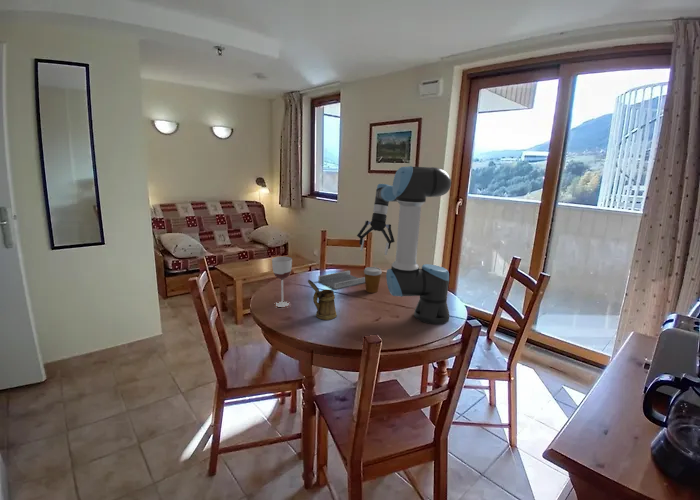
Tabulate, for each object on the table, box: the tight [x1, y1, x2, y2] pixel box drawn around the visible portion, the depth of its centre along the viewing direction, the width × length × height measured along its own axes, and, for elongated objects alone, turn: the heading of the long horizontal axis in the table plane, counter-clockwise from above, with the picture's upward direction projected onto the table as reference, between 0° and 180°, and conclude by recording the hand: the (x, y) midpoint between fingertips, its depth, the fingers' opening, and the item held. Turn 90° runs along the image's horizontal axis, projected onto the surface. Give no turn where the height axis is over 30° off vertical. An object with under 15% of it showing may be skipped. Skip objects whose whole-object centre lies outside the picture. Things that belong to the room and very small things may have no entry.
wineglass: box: [271, 256, 293, 307], centre depth 167 cm, size 9×10×22 cm
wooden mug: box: [307, 279, 338, 321], centre depth 155 cm, size 9×14×18 cm, turn 124°
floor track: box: [317, 270, 365, 291], centre depth 204 cm, size 22×16×3 cm
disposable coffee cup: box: [363, 266, 382, 294], centre depth 191 cm, size 10×10×12 cm
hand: (373, 253), depth 194 cm, fingers open, 13 cm apart
